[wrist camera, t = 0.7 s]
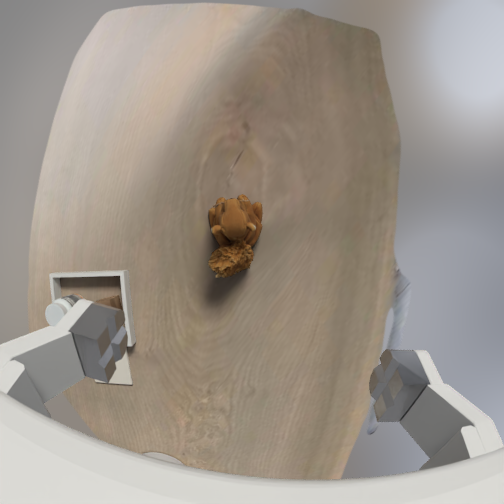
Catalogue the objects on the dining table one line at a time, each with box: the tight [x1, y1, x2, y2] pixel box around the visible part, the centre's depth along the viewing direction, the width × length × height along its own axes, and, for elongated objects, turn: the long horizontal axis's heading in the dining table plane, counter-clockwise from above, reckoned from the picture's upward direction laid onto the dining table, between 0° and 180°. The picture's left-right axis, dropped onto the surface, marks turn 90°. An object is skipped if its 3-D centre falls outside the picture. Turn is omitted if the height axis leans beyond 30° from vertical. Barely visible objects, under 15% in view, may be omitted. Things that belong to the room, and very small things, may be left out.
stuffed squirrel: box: [208, 194, 262, 278], centre depth 51 cm, size 10×14×13 cm
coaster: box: [95, 348, 133, 385], centre depth 55 cm, size 9×9×1 cm
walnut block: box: [96, 295, 123, 311], centre depth 53 cm, size 4×4×5 cm
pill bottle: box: [45, 294, 84, 327], centre depth 50 cm, size 6×6×10 cm
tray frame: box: [49, 270, 136, 346], centre depth 54 cm, size 15×18×3 cm
